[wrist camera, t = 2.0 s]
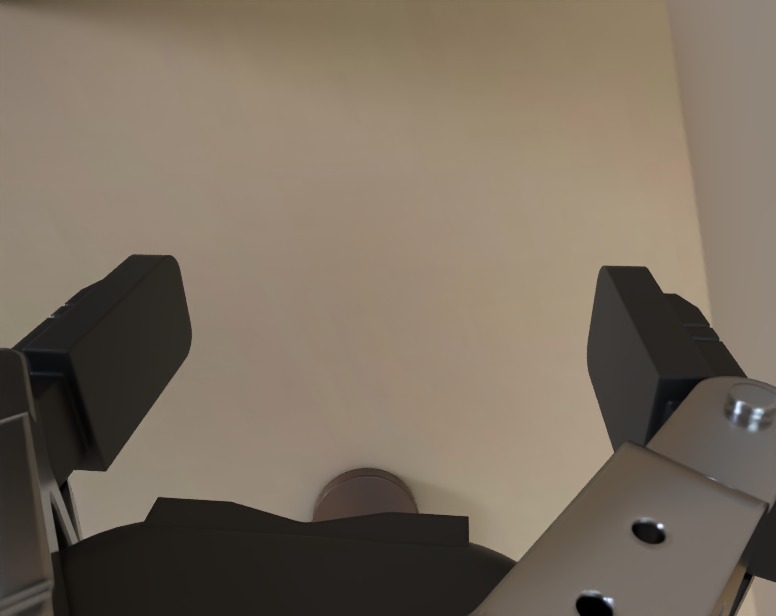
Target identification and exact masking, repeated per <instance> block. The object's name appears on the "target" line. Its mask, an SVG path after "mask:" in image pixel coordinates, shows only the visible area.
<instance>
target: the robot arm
mask: <svg viewBox="0 0 776 616" xmlns="http://www.w3.org/2000/svg"><path fill="white" fill-rule="evenodd" d="M191 340H192V328H191V322H190V317H189V312H188V307H187V302H186V297H185V292H184V287H183V282H182V277H181V272H180V268H179V265H178V262H177V260H176V259H175V258H174V257H173V256H171V255H136V254H134V255H131V256H129V257H128V258H127V259H126V260H125V261H124V262H122V263H121V264H120V265H119V266H118V267H117V268H115V269H114V270H113V271H112V272H111V273H110V274H108V275H107V276H106V277H105V278H104V279H103V280H100V281H98V282H96V283H94V284H92V285H90V286H88V287H86V288H84V289H82V290H80V291H79V292H78V293H77V294H76V295H74V296H73V297H72V298H71V299H70V300H68V301H67V302H66V303H65V306H61V307H60V308H59V309H58V310H57V311H55V312H54V313H53V314H52V315H51V318H47V319H46V320H45V321H44V322H42V323H41V324H40V325H39V326H38V327H36V328H35V329H34V330H33V331H32V332H30V333H29V334H28V335H27V336H26V337H25V338H23V339H22V340H21V341H20V342H19V343H17V344H16V345H15V346H14V347H13V348H11V349H8V348H0V616H736V615H737V613H738V611H739V609H740V607H741V605H742V603H743V601H744V599H745V597H746V595H747V593H748V590H749V588H750V586H751V584H752V582H753V580H754V577H755V576H757V577H761V578H764V579H767V580H770V581H773V582H776V387H775V386H772V385H770V384H767V383H764V382H761V381H758V380H754V379H749V378H747V376H746V375H745V373H744V372H743V370H742V369H741V368H740V366H739V365H738V364H737V362H736V361H735V359H734V358H733V356H732V355H731V354H730V352H729V351H728V349H727V348H726V346H725V345H724V344H723V342H721V341H719V337H718V335H717V334H716V332H715V331H714V330H713V328H710V324H709V323H708V321H707V320H706V318H705V317H704V315H703V314H702V313H701V311H700V310H699V308H697V307H696V306H694V305H693V304H691V303H690V302H688V301H686V300H685V299H683V298H682V297H680V296H679V295H677V294H664V293H663V292H662V290H661V289H660V287H659V285H658V284H657V282H656V281H655V279H654V278H653V276H652V274H651V273H650V271H649V270H648V268H647V267H640V266H602V267H601V269H600V271H599V274H598V279H597V285H596V291H595V298H594V304H593V311H592V317H591V324H590V330H589V336H588V344H587V365H588V372H589V376H590V379H591V382H592V385H593V388H594V391H595V394H596V397H597V400H598V404H599V407H600V410H601V413H602V416H603V419H604V422H605V425H606V428H607V432H608V435H609V438H610V441H611V444H612V447H613V450H614V454H613V455H612V456H611V457H610V459H609V460H608V461H607V462H606V463H605V464H604V465H603V466H602V468H601V469H600V470H599V471H598V472H597V473H596V474H595V475H594V477H593V478H592V479H591V480H590V481H589V482H588V483H587V485H586V486H585V487H584V488H583V489H582V490H581V491H580V492H579V494H578V495H577V496H576V497H575V498H574V499H573V500H572V501H571V503H570V504H569V505H568V506H567V507H566V508H565V509H564V511H563V512H562V513H561V514H560V515H559V516H558V517H557V518H556V520H555V521H554V522H553V523H552V524H551V525H550V526H549V527H548V529H547V530H546V531H545V532H544V533H543V534H542V535H541V537H540V538H539V539H538V540H537V541H536V542H535V543H534V544H533V546H532V547H531V548H530V549H529V550H528V551H527V552H526V553H525V555H524V556H523V557H522V558H521V559H520V560H519V561H518V562H516V561H514V560H512V559H511V558H509V557H507V556H505V555H503V554H501V553H498V552H496V551H494V550H491V549H489V548H486V547H484V546H481V545H477V544H474V543H471V542H469V518H468V517H467V516H451V515H435V514H419V513H403V512H383V513H376V514H369V515H362V516H355V517H347V518H340V519H333V520H326V521H319V522H309V523H306V522H299V521H295V520H291V519H288V518H285V517H281V516H278V515H274V514H271V513H268V512H264V511H261V510H257V509H254V508H251V507H247V506H244V505H240V504H237V503H234V502H226V501H210V500H194V499H178V498H162V497H158V498H157V500H156V502H155V503H154V505H153V507H152V509H151V510H150V512H149V514H148V516H147V517H146V519H145V521H144V522H138V523H133V524H129V525H125V526H121V527H117V528H114V529H110V530H107V531H104V532H101V533H98V534H96V535H93V536H91V537H89V538H86V539H84V540H83V535H82V531H81V526H80V522H79V517H78V513H77V508H76V504H75V499H74V495H73V491H72V488H71V486H70V483H69V480H68V477H69V475H70V474H71V473H72V472H73V470H88V471H105V472H106V471H107V469H108V468H109V466H110V465H111V464H112V462H113V461H114V459H115V458H116V456H117V455H118V454H119V452H120V451H121V449H122V448H123V447H124V445H125V444H126V442H127V441H128V440H129V438H130V437H131V435H132V434H133V432H134V431H135V430H136V428H137V427H138V425H139V424H140V423H141V421H142V420H143V418H144V417H145V415H146V414H147V413H148V411H149V410H150V408H151V407H152V406H153V404H154V403H155V401H156V400H157V399H158V397H159V396H160V394H161V393H162V391H163V390H164V389H165V387H166V386H167V384H168V383H169V382H170V380H171V379H172V377H173V376H174V374H175V373H176V372H177V370H178V369H179V367H180V366H181V365H182V363H183V362H184V360H185V359H186V357H187V356H188V353H189V350H190V347H191Z"/></svg>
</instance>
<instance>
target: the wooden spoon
mask: <svg viewBox="0 0 776 616" xmlns="http://www.w3.org/2000/svg"><path fill="white" fill-rule="evenodd" d="M383 512H403V513H418V509H417V505H416V502H415V499H414V497H413V495H412V493H411V492H410V490H409V489H408V487H407V486H406V485H405V484H404V483H403V482H402V481H401V480H399V479H398V478H397V477H395V476H393V475H392V474H390V473H387V472H385V471H382V470H377V469H368V468H365V469H357V470H352V471H349V472H346V473H344V474H342V475H340V476H338V477H337V478H335V479H334V480H333V481H331V482H330V483H329V484H328V485H327V486H326V487H325V489H324V490H323V491H322V493H321V494H320V496H319V498H318V500H317V503H316V506H315V509H314V515H313V522H319V521H326V520H333V519H340V518H347V517H355V516H362V515H369V514H376V513H383Z"/></svg>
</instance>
